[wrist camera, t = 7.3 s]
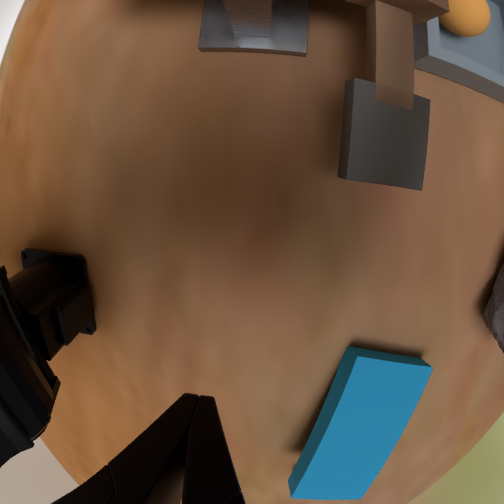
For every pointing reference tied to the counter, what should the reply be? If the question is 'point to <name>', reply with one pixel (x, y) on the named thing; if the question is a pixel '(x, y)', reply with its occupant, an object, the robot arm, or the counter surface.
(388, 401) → the blue piece
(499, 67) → the bin
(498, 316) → the perforated stone tool
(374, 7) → the lever
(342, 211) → the counter surface
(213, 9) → the stand
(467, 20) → the ball
